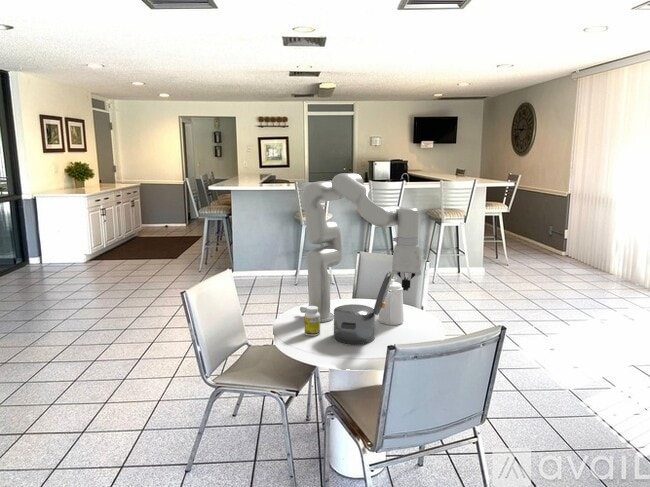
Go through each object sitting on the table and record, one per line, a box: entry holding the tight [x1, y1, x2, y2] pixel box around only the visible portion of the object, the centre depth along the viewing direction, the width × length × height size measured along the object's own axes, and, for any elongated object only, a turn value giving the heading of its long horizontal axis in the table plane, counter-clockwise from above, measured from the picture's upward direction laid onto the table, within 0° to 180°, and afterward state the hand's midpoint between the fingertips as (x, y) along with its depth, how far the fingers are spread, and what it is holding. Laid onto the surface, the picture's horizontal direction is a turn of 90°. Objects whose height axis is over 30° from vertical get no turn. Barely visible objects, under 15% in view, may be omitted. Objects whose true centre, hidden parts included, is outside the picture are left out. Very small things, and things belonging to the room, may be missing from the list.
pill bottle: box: [304, 305, 321, 337], centre depth 189 cm, size 6×6×11 cm
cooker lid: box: [373, 272, 393, 316], centre depth 180 cm, size 17×17×3 cm
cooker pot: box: [333, 303, 376, 346], centre depth 186 cm, size 16×21×11 cm
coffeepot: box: [377, 279, 405, 326], centre depth 202 cm, size 11×25×19 cm, turn 168°
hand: (405, 289), depth 177 cm, fingers closed
